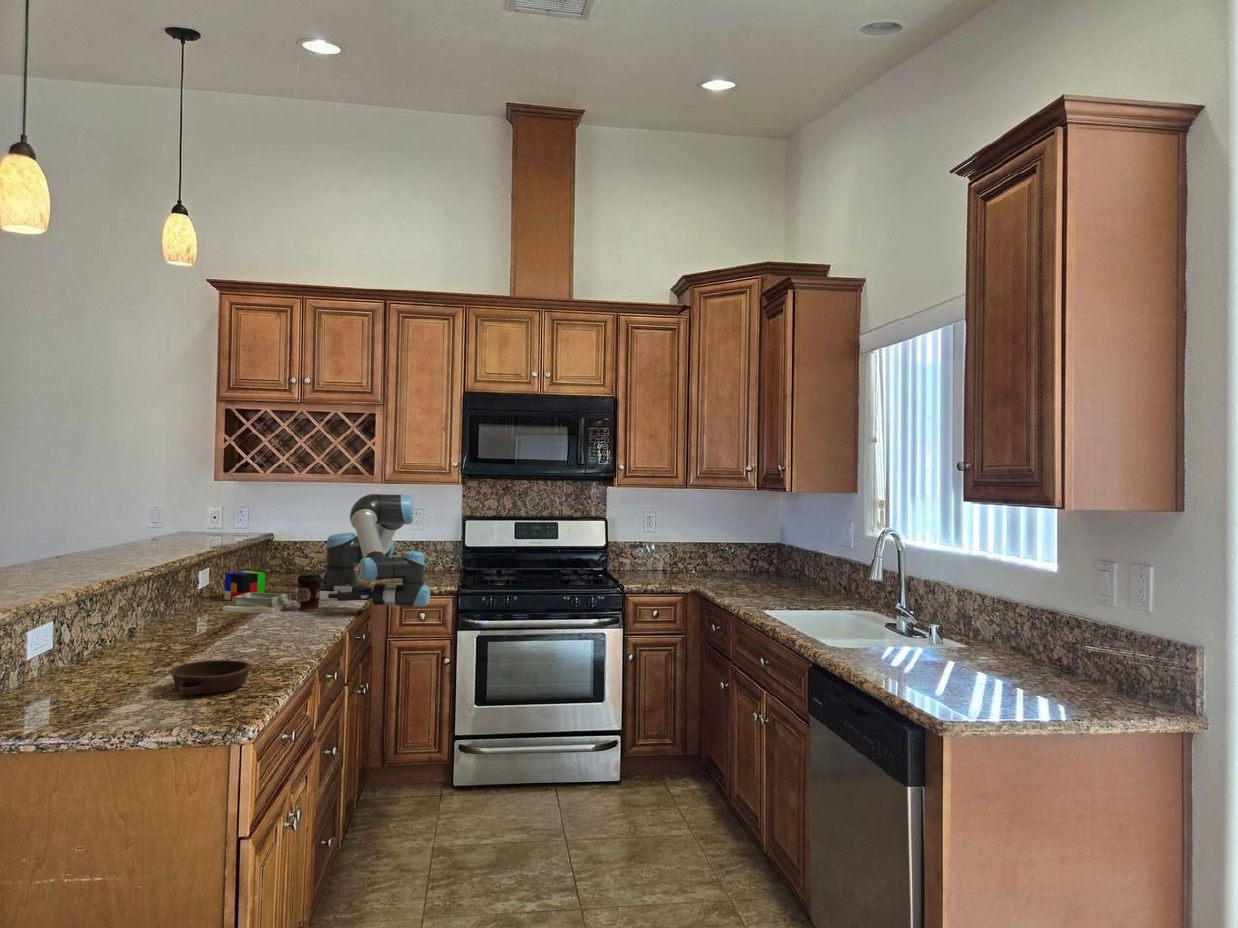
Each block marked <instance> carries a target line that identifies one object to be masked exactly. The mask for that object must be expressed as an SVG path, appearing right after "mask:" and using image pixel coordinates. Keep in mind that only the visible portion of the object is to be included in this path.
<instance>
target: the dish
mask: <svg viewBox="0 0 1238 928" xmlns="http://www.w3.org/2000/svg"><path fill="white" fill-rule="evenodd" d="M252 668H253V665H252V663H250V662H246V661H242V660H222V659H221V660H202V661H201V660H200V661H192V662H187V663H184V664H179V665H176V666H175V667H173V668H171V669H170V670H169V673H170V675H171V676H172V680H173V682H174V686H175V687H176V689H177V690H178V693H179V695H181V696H184V697H185V696H194V695H195V694H207V695H212V694H211V693H217V694H219V693H218V692H223V693H225V692H224V691H228V692H230V691H229V690H231V691H233V690H232V689H235V688H237V689H239V688H241V687H242V686H243V685H244V684H245V682H246V680H247V678H248V675H249V672H250V671H251V669H252ZM240 686H241V687H240ZM238 687H239V688H238ZM235 690H236V689H235ZM195 696H196V695H195Z"/></svg>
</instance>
